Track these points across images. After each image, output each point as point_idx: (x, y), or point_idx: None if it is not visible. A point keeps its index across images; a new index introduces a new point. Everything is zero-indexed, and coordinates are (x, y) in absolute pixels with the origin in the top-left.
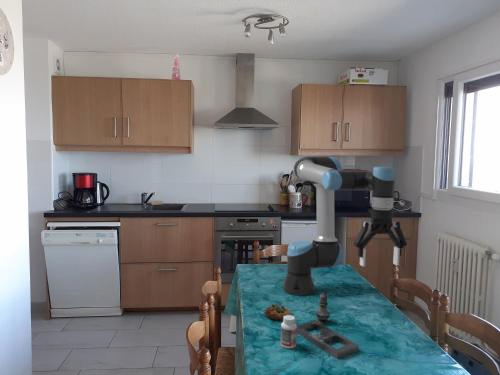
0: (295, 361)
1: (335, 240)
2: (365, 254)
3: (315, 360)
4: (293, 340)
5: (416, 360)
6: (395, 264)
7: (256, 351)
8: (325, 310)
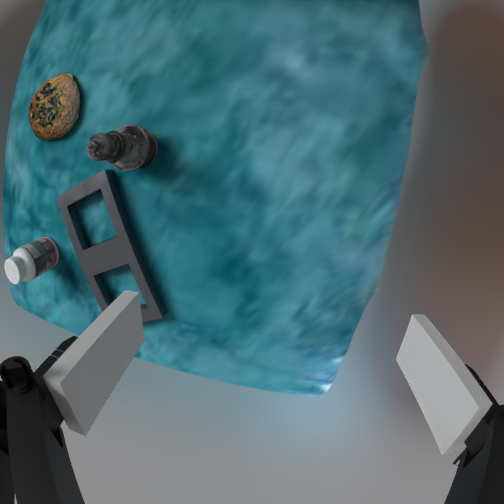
0: (56, 305)
1: None
2: (105, 401)
3: (83, 313)
4: (45, 271)
5: (268, 365)
6: (402, 344)
7: None
8: (124, 159)
